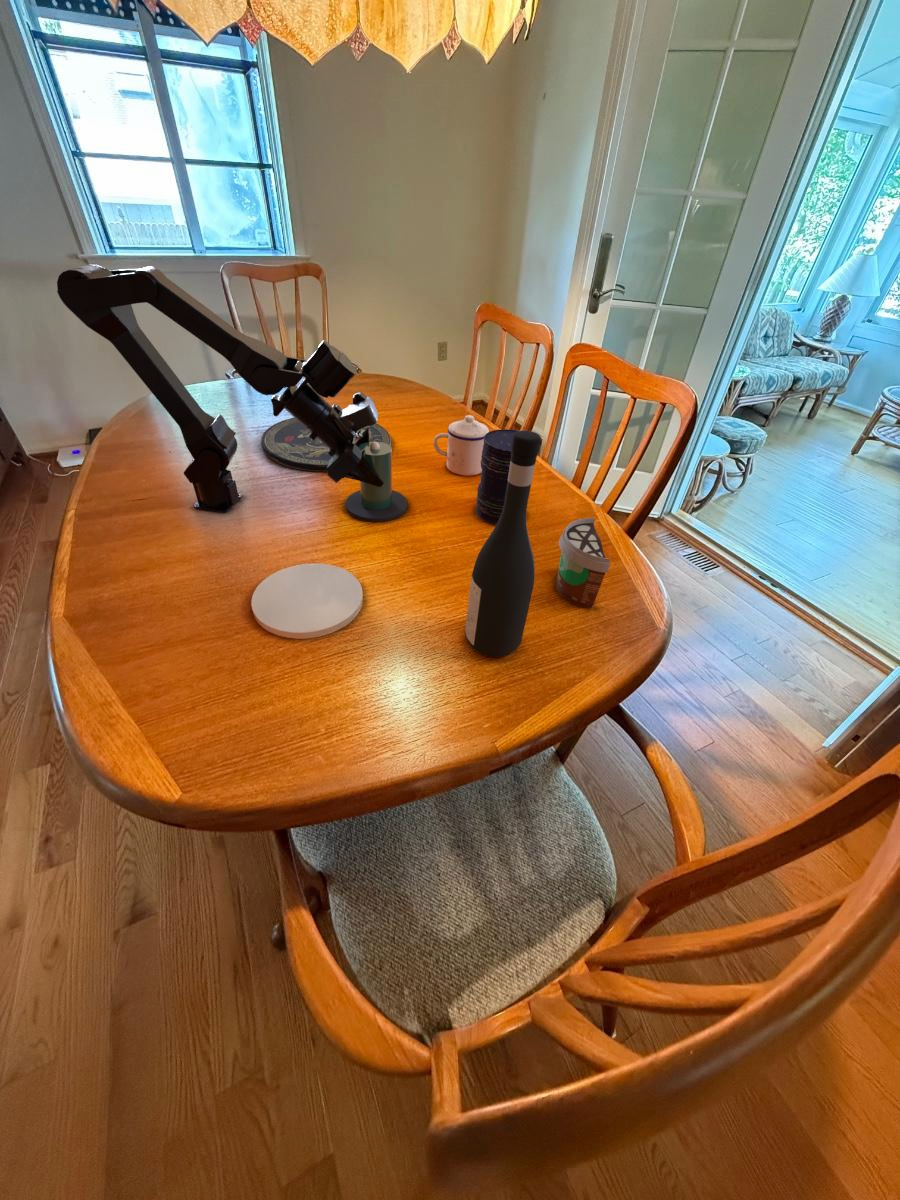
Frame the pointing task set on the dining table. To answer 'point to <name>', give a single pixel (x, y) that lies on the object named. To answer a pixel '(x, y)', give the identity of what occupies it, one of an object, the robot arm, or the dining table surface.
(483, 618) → the wine bottle
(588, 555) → the food container
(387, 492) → the canister
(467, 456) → the teacup with lid
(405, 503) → the coaster
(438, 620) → the dining table surface
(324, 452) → the decorative plate
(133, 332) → the robot arm
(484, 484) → the storage jar
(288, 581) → the saucer plate
